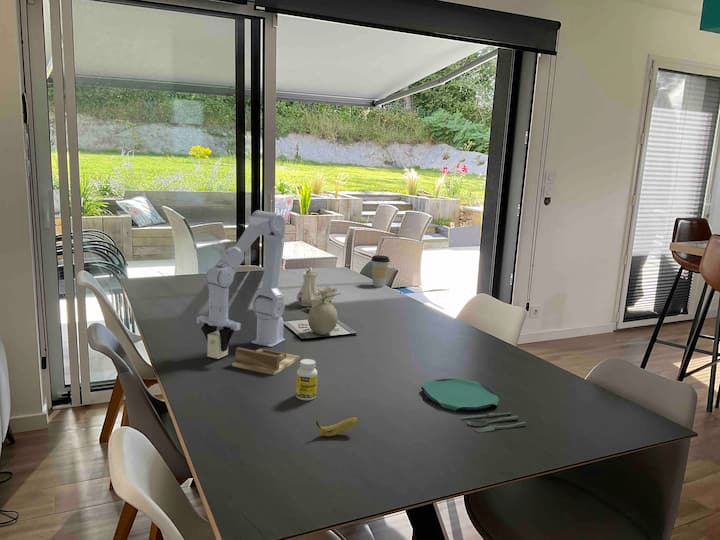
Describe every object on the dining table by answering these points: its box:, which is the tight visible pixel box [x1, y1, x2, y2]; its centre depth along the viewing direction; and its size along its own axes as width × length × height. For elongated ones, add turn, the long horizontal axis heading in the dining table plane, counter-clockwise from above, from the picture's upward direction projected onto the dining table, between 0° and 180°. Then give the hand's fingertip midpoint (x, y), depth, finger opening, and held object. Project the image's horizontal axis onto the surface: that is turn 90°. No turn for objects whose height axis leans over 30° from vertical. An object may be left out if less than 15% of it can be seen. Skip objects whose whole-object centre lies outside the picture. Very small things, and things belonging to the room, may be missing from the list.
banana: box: [315, 416, 359, 437], centre depth 134 cm, size 10×2×4 cm, turn 109°
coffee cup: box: [371, 254, 391, 288], centre depth 297 cm, size 9×9×15 cm
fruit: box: [307, 292, 342, 336], centre depth 209 cm, size 10×12×15 cm
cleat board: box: [231, 347, 301, 376], centre depth 178 cm, size 16×14×5 cm
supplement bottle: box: [295, 358, 318, 401], centre depth 154 cm, size 5×5×10 cm
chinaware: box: [295, 266, 338, 308], centre depth 251 cm, size 28×17×17 cm, turn 179°
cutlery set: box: [420, 377, 528, 433], centre depth 156 cm, size 20×30×2 cm, turn 20°
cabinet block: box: [206, 329, 229, 360], centre depth 179 cm, size 6×4×7 cm
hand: (217, 349), depth 179 cm, fingers closed on cabinet block, 4 cm apart
